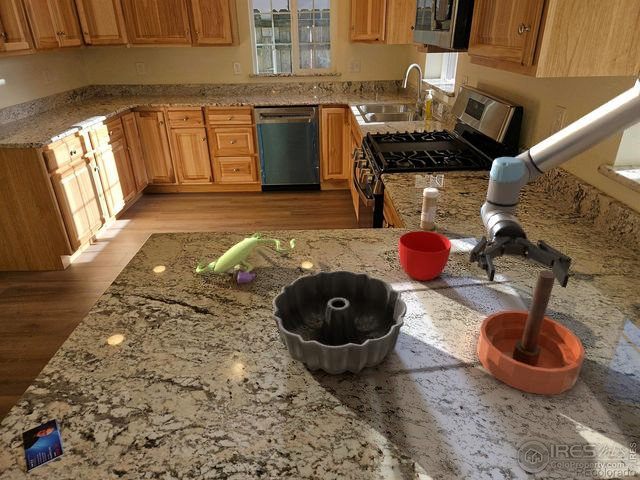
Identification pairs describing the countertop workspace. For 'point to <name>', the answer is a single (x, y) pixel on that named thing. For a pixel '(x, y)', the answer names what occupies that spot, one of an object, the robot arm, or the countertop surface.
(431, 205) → the sprinkles bottle
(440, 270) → the ceramic cup
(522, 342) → the wooden pestle
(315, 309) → the bundt pan
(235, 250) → the figurine
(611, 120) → the robot arm
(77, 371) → the countertop surface
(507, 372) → the bowl
